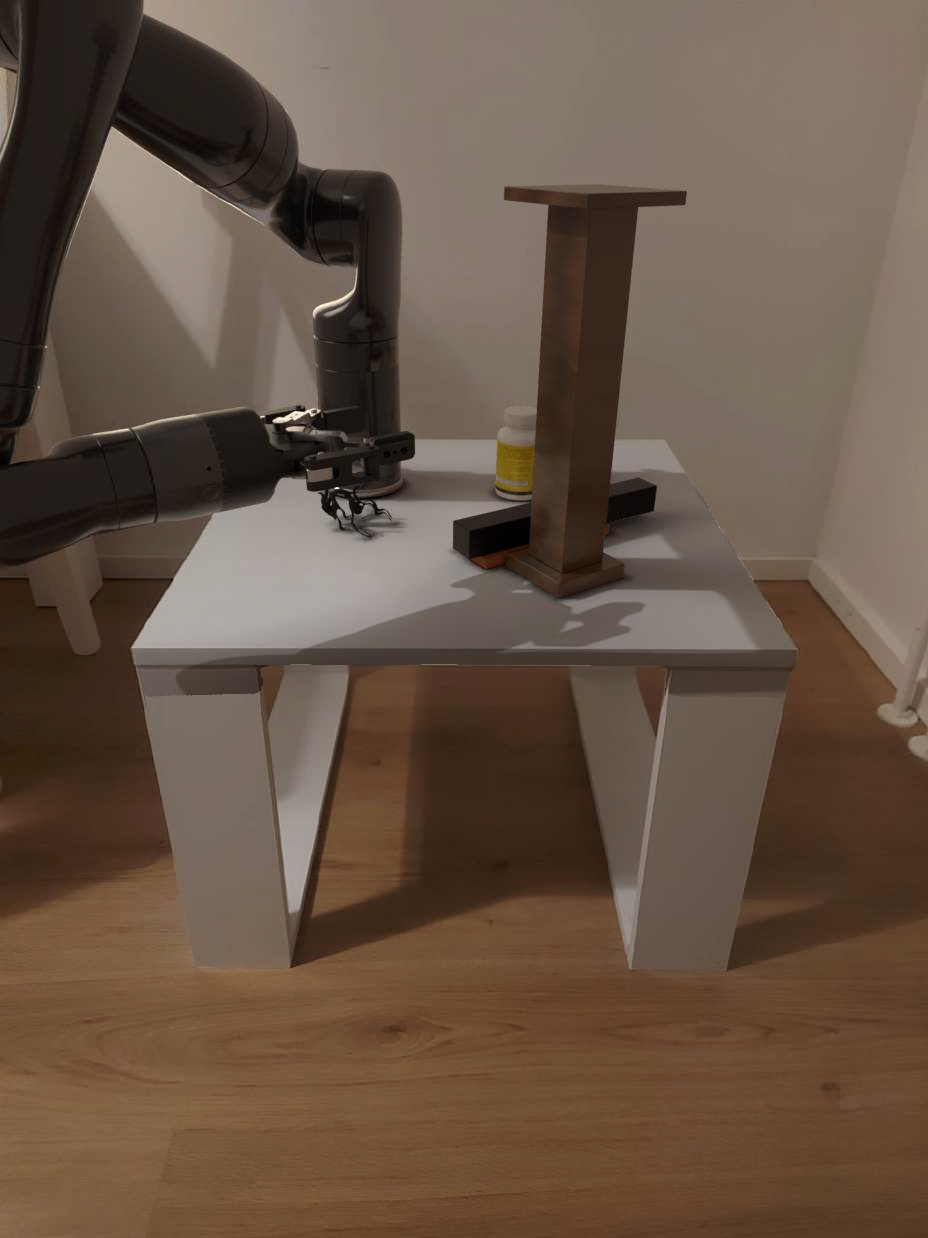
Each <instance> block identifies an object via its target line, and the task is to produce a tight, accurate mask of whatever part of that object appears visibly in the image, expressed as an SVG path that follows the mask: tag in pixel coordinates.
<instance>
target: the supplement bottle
mask: <svg viewBox="0 0 928 1238" xmlns="http://www.w3.org/2000/svg"><path fill="white" fill-rule="evenodd" d="M536 414H537V407H533V406H528V405H514V406H509V407H507V408H505V409H504V424H505V426H503V427H502V428H500V429H499V430H498V431H497V432H498V433H497V438H496V440H497V441H496V460H495V479H494V481H495V483H494V491H495V493H496V494H497V496H499V497H500V498H503V499H506V500H512V501H530V500H532V486H533V468H534V450H535V432H536Z"/></svg>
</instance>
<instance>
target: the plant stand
mask: <svg viewBox="0 0 928 1238" xmlns="http://www.w3.org/2000/svg"><path fill="white" fill-rule="evenodd" d="M687 195H688V191H687V190H678V189H666V188H653V187H639V186H624V185H613V184H612V185H611V184H597V183H596V184H554V185H553V184H551V185H547V184H545V185H506V186H505V185H504V188H503V201H507V202H516V203H518V202H519V203H526V204H527V203H528V204H535V205H544V206H545V205H546V206H547V220H546V236H545V252H544V253H545V255H544V271H543V273H544V274H543V288H542V289H543V290H542V309H541V327H540V345H539V360H538V362H539V363H538V379H537V398H536V399H537V400H536V408H537V414H536V432H535V450H534V468H533V486H532V499H531V502H532V504H531V522H530V540H529V546H528V547H525V548H521V549H518V550H514V551H511V552H507V557H506V563H505V567H506V568H508V569H510V570H512V571H513V572H515V573H517V574H518V575H520V576H521V577H523V578H524V579H526V580H528V581H529V582H531V583H533V584H534V585H536V586H538V587H539V588H540V589H542V590H544V591H545V592H548V594H550V595H552V596H554V597H555V598H557V599H562V598H564V597H568V596H571V595H575V594H577V593H580V592H583V591H586V590H590V589H592V588H595V587H599V586H602V585H604V584H605V585H606V584H609V583H612V582H614V581H617V580H620V579H623V578H624V576H625V568H626V567H625V566H626V563H625V562H623V561H621V560H619V559H617V558H616V557H614V556H612V555H609V554H608V553H606V552H604V548H605V541H606V540H605V539H606V535H605V530H606V520H607V511H608V501H609V491H610V484H611V481H612V470H613V461H614V460H613V459H614V451H615V450H614V449H615V443H616V442H615V441H616V430H617V422H618V411H619V401H620V393H621V392H620V390H621V383H622V382H621V381H622V371H623V361H624V352H625V344H626V343H625V342H626V331H627V322H628V314H629V313H628V312H629V303H630V292H631V285H632V273H633V265H634V264H633V262H634V253H635V245H636V235H637V234H636V233H637V224H638V215H639V208H651V207H652V208H653V207H677V206H678V207H679V206H680V207H681V206H686V205H687Z"/></svg>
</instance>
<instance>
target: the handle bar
mask: <svg viewBox="0 0 928 1238" xmlns="http://www.w3.org/2000/svg"><path fill="white" fill-rule="evenodd" d="M657 490H658V485H657V484H655V483H652V482H650V481H648V480H645V479H643V478H641V477H634V478H630V479H626V480H621V481H616V482H613V483H610V491H609V501H608V511H607V520H606V524H611V523H614V522H619V521H622V520H625V519H629V518H630V519H631V518H633V517H637V516H641V515H645V514H649V513H652V512H653V513H654V512H655V505H656V497H657ZM531 504H532V501H530V502H527V503H523V504H518V505H515V506H509V507H505V508H501V509H497V510H493V511H488V512H484V513H480V514H476V515H475V514H474V515H472V516H467V517H463V518H459V519H454V520H452V549H453V550H454V551H456V552H457V553H459V555H462V556H463V557H465V559H468V560H471V559H473V558H477V557H480V556H484V555H488V554H492V553H496V552H500V551H503V550H507V549H511V548H515V547H519V546H523V545H526V544H529V540H530V522H531Z"/></svg>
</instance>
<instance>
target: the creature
mask: <svg viewBox="0 0 928 1238" xmlns="http://www.w3.org/2000/svg"><path fill="white" fill-rule="evenodd" d="M367 483H368V482H367ZM367 483H366V484H367ZM366 484H364V485H363V486H362V487H361V488H363V489H364V487H365V485H366ZM359 487H360V485H359V486H355V487H354V488H353V493H352V492H350V491H347V490H345V489H342V488H338V489H336V490H334V491H332V492H328V491H329V489H328V490H324V493H323V492H322V491H317V492H316V493H317V495H320V497H321V498H320V504H321V510H322V511H324V513H325V514H326V515H327V516H330V517H331V518H333V520H334V521H335V522H336V521H337V522H338V527H339V528H338V529H339V530H341V531H344V530H346V529H349V530H351V528H349V527H347V526H345V527H343V525H342V520H341V519H340V518H339V516H338V510H340V511H341V513H342V517H343V518H344V519H348V518H350V517H351V518H350V525H351V526H352V529H353V530H354V531H356V532H357V533H358V534H359V535H362V536H364V537H367V538H371V537H372V535H371V534H370V533H369V532H367V531H366V530H364V528H362V527H361V526H359V527H357V526H356V524H355V523H354V522H355V521H354V520H355V516H359V515H361V514H363V511H364V508H365V506H366V505H367V506H368V507H370V508H372V509H373V512H374V513H373V514H368V515H365V516H363V517H361V519H362V520H364V519H365V518H367V517H369V516H375V515H376V516H380V515H383V514H385V516H386V517H387V518H388V519H389V521H391V522H392V521H393V517H392V514H390V512H389V510H388V509H386V508H379V507H378V504H377V503H376V502H375V501H374V500H373V499H367V500H365V501H362V500H361V499H362V498H361V497H360V498H358V497H357V495H356V493H357V492H358V491H357V492H356V490H357V489H358V488H359ZM361 488H360V489H361ZM362 492H363V490H362ZM337 494H343V495H344V496H343V497H345V498H346V499H347V500H348V509H349V510H350V513H351V514H349V515H346V511H345V510H344V509H343V508H342V507H341V505H340V504H339V502H338V500H337V498H336V496H338V495H337ZM351 494H353V495H354V497H355V498H354V497H352V496H351ZM361 495H362V494H361ZM385 511H386V512H385ZM360 530H362V532H361V531H360ZM363 532H364V533H366V534H367V535H366V534H364V533H363Z"/></svg>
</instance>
